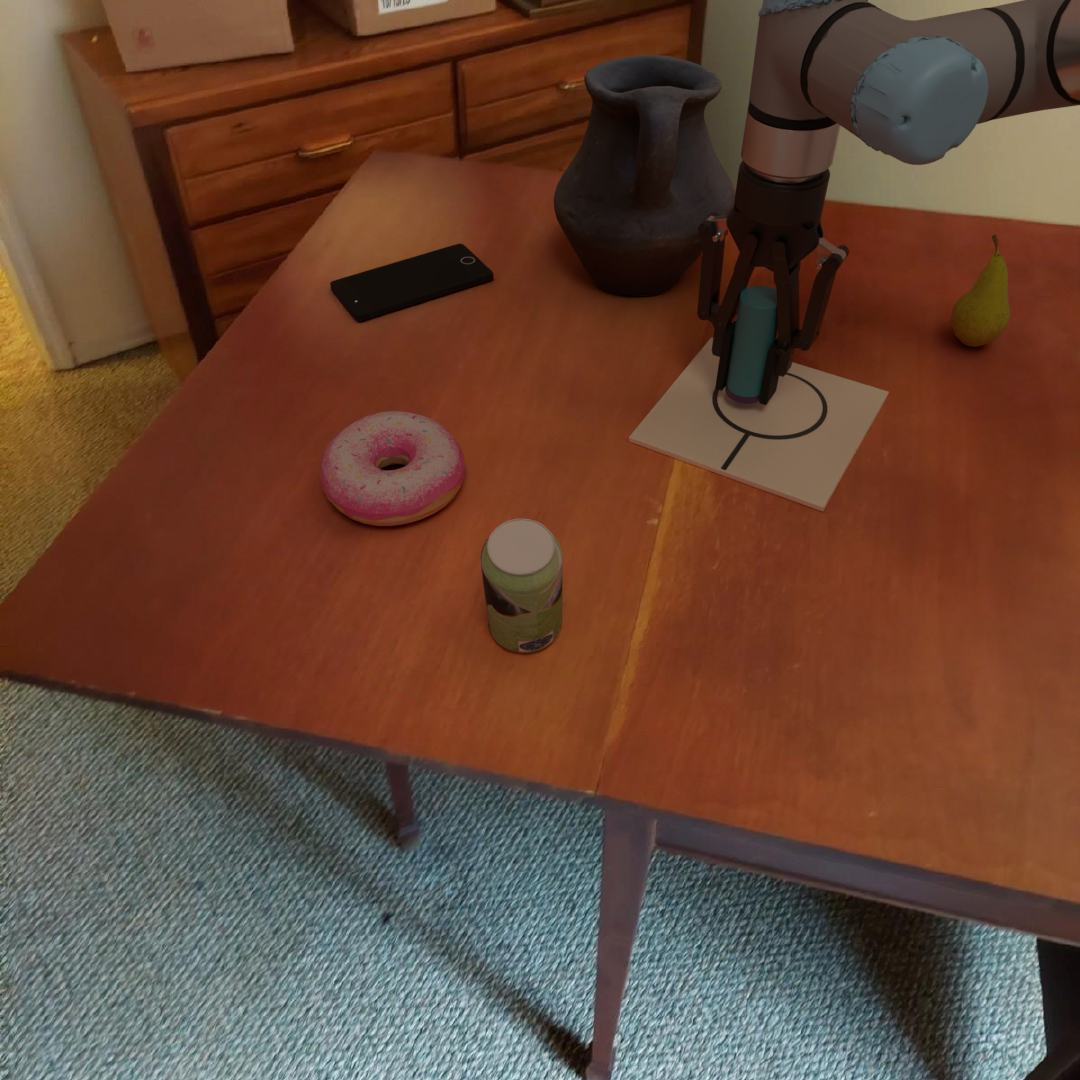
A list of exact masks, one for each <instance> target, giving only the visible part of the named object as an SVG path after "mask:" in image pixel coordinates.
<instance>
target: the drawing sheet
mask: <svg viewBox="0 0 1080 1080" xmlns="http://www.w3.org/2000/svg"><path fill="white" fill-rule="evenodd" d="M712 344H713V336H711V337H710V338H709V339H708V340H707V342H706V343H705V344H704V346H703V347H702V348H701V349H700V350H699V351H698V353H696V355H695V356H694V357H693V359H692V360H691V361H690V362H689V364H687V366H686V367H685V368H684V370H683V371H682V372H681V373H680V375H678V377H677V378H676V379H675V380H674V382H673V383H672V384H671V385H670V387H668V389H666V391H665V393H664V394H663V395H662V396H661V397H660V398H659V400H658V401H657V402H656V404H654V406H653V407H652V408H651V409H650V411H649V412H648V413H647V415H645V417H644V418H643V419H642V420H641V422H640V423H639V424H638V425H637V426H636V428H635V429H634V430H633V431H632V432H631V433H630V435H629V436H628V442H629V443H632V444H634V445H637V446H640V447H643V448H646V449H647V450H651V451H653V452H656V453H659V454H661V455H665V456H667V457H669V458H670V457H671V458H673V459H676V460H679V461H681V462H684V463H686V464H690V465H692V466H695V467H698V468H701V469H703V470H706V471H708V472H711V473H714V474H717V475H719V476H722V477H726V478H727V479H731V480H733V481H736V482H739V483H742V484H745V485H747V486H750V487H752V488H755V489H757V490H761V491H764V492H765V493H766V492H767V493H769V494H772V495H775V496H778V497H781V498H782V499H786V500H789V501H791V502H793V503H797V504H800V505H803V506H805V507H807V508H810V509H813V510H815V511H819V512H821V513H823V512H824V510H825V509H826V507H827V505H828V503H829V502H830V500H831V498H832V497H833V495H834V493H835V491H836V489H837V488H838V486H839V484H840V482H841V480H842V479H843V477H844V475H845V473H846V471H847V470H848V469H849V466H850V464H851V463H852V461H853V459H854V458H855V456H856V454H857V452H858V450H859V449H860V447H861V445H862V443H863V442H864V439H865V438H866V436H867V434H868V433H869V431H870V429H871V427H872V425H873V423H874V422H875V420H876V418H877V417H878V414H879V413H880V412H881V410H882V408H883V406H884V404H885V402H886V401H887V399H888V397H889V394H890V391H888V390H885V389H881V388H878V387H875V386H872V385H868V384H865V383H861V382H859V381H855V380H852V379H848V378H845V377H842V376H838V375H835V374H832V373H829V372H826V371H823V370H819V369H816V368H813V367H809V366H807V365H803V364H801V363H800V364H799V363H797V362H793V361H792V366H791V367H790V369H789V370H788V372H787V373H786V374H785V376H784V377H782V376H779V379H778V384H777V389H776V392H775V393H774V395H773V396H772V398H771V399H770V400H769V402H768V403H767V405H763V404H760V403H759V402H756V403H752V404H743V403H739V402H736V401H734V400H732V399H730V398H729V397H728V396H727V394H726V392H725V388H726V386H725V388H724V389H723V390H722V391H721V390H718V389H715V386H716V379H717V372H718V366H719V359H720V357H718V356H715V355H713V354H712Z"/></svg>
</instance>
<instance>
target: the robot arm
mask: <svg viewBox="0 0 1080 1080" xmlns="http://www.w3.org/2000/svg"><path fill="white" fill-rule="evenodd" d="M758 17H759V18H758V20H759V21H758V26H757V33H756V34H757V35H756V40H755V49H754V58H753V65H752V71H751V72H752V73H751V80H750V89H749V95H748V96H749V97H748V100H749V101H748V106H747V111H746V117H745V123H744V124H745V125H744V129H743V130H744V131H743V137H742V144H741V151H740V157H741V160H742V161H741V162H740V164H739V165H738V173H737V180H736V186H735V200H734V207H733V209H732V211H731V212H730V213H729V214H728V215H722V216H720V215H719V214H718V213H716V212H713V213H711V214H710V215H709V216H708V217H707V218H706V219H705V220H704V221H703V222H702V223H701V224H700V225H699V226H698V232H699V236H700V240H701V244H702V248H703V249H702V253H701V262H700V263H701V264H700V274H699V275H700V276H699V288H698V296H697V310H696V315H697V317H698V319H699V320H701V321H708V322H709V323H711V325H712V326H713V329H714V330H713V336H712V338H713V344H712V354H713V355H715V356H718V357H720V359H719V366H718V372H717V379H716V386H715V389H718V390H721V391H722V390H723V389H724V388H725V386H726V381H727V375H728V368H729V362H730V356H731V349H732V343H733V337H734V330H735V324H736V320H734V319H735V318H736V317H737V311H738V305H739V299H740V294H741V292H742V291H743V290H744V289H745V288H747V287H748V285H749V282H750V280H751V278H752V275H753V273H754V271H755V268H765V269H767V270H769V271H771V272H773V283H774V285H775V287H776V288H775V289H776V291H777V324H778V331H777V336H776V340H775V342H774V343H773V344H772V345H771V347H770V348H769V353H768V358H767V363H766V368H765V374H764V379H763V384H762V389H761V395H760V400H759V403H760V404H763V405H767V403H768V402H769V400H770V399H771V398H772V396H773V395H774V393H775V392H776V389H777V384H778V379H779V376H782V377H784V376H785V374H786V373H787V372H788V370H789V369H790V367H791V366H792V362H793V361H794V358H795V357H794V356H795V352H796V349H799V350H801V351H803V352H807V351H809V350H810V348H811V347H812V346H813V344H814V343H815V342H816V340H817V338H818V337H819V336H820V332H821V330H822V325H823V322H824V318H825V314H826V311H827V308H828V303H829V300H830V298H831V293H832V290H833V286H834V283H835V279H836V276H837V271H838V270H839V269H840V267H841V266H842V264H843V263H844V262H845V260H846V259H847V258H848V256H849V254H850V250H849V248H848V246H846V245H845V244H839V245H837V246H835V245H834V244H833V243H831V242H830V241H828V240H827V239H826V238H824V230H823V227H822V215H823V210H824V207H825V206H824V205H825V202H826V196H827V191H828V187H829V183H830V178H831V171H830V167H832V165H833V162H834V158H835V153H836V148H837V145H838V144H837V143H838V139H839V134H840V131H841V127H842V128H843V129H844V130H847V131H848V132H849V133H851V134H852V135H853V136H855V137H856V138H858V139H859V140H861V142H862V143H864V144H865V145H866V146H867V147H868V148H871V149H872V150H874V151H875V152H881V153H882V154H883V155H886V156H890V157H892V158H894V159H896V160H898V161H900V162H902V163H904V164H907V165H910V166H911V165H912V166H924V165H929V164H932V163H935V162H937V161H940V160H942V159H943V158H944V157H945V155H946V154H947V153H948V152H949V151H951V150H953V149H955V148H956V149H957V148H958V147H959V146H961V145H962V144H963V143H964V142H965V140H966V139H967V138H968V137H969V136H970V134H971V133H972V132H973V131H974V129H975V128H976V126H977V125H980V124H984V123H987V122H990V121H994V120H998V119H999V120H1000V119H1004V118H1010V117H1015V116H1020V115H1025V114H1030V113H1035V112H1040V111H1041V112H1042V111H1048V110H1055V109H1061V108H1070V107H1077V106H1080V0H1019V1H1014V2H1009V3H1005V4H999V5H995V6H991V7H982V8H975V9H971V10H965V11H960V12H959V11H958V12H955V13H950V14H943V15H939V16H932V17H926V18H921V19H916V20H915V19H914V20H910V19H904V18H902V17H899V16H897V15H894V14H892V13H890V12H888V11H886V10H883V9H882V8H879V7H878V6H877V5H875V4H873V3H871V2H869V0H762V3H761V8H760V9H759V11H758ZM729 234H730V235H731V238H732V240H733V241H734V243H735V246H736V247H737V250H738V252H739V254H738V256H737V258H736V261H735V263H734V267H733V273H732V275H731V277H730V280H729V283H728V286H727V288H726V291H725V294H724V295H723V298H722V301H721V304H720V295H721V285H722V275H723V267H724V266H723V265H724V256H725V247H726V238H727V236H728V235H729ZM812 252H814V253H815V256H816V259H815V262H814V263H815V268H816V270H818V272H817V274H815V275H816V276H815V278H814V281H813V283H812V287H811V291H810V295H809V299H808V303H807V306H806V309H805V313H804V318H803V321H802V326H801V329H800V325H801V324H800V270H801V268H802V267H801V266H802V265H801V263H802V260H804V259H805V258H806V257H807V256H808V255H810V254H811V253H812Z"/></svg>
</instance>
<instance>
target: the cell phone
mask: <svg viewBox="0 0 1080 1080" xmlns="http://www.w3.org/2000/svg"><path fill="white" fill-rule="evenodd" d="M494 279H495V278H494V272H493V271H492V269H490V268H489V267H488V266H487V265H486V264H485V263H484V262H483V261H482V260H481V259H480V258H479V257H478V256H476V254H475V253H474V252H473V251H471V249H469V248H468V247H467V246H466V245H465V244H463V243H456V244H452V245H449V246H445V247H441V248H439V249H435V250H432V251H428V252H425V253H422V254H419V255H415V256H412V257H409V258H408V257H407V258H405V259H401V260H398V261H394V262H390V263H387V264H385V265H381V266H377V267H373V268H370V269H367V270H365V271H364V270H363V271H361V272H359V273H358V272H357V273H354V274H350V275H347V276H345V277H340V278H338V279H335V280H332V281H330V282H329V285H330V286H329V287H330V290H331V292H332V293H333V294H334V295H335V297H336V298H337V299H338V300H339V301H340V303H341V304H342V306H343V307H344V308H345V309H346V310H347V311H348V312H349V314H350V315H351V316H352V317H353V319H354V320H355V321H357V322H359V323H360V322H363V321H367V320H369V319H372V318H376V317H379V316H381V315H386V314H388V313H391V312H395V311H399V310H400V309H405V308H407V307H411V306H413V305H417V304H420V303H423V302H427V301H429V300H433V299H436V298H439V297H442V296H445V295H448V294H451V293H454V292H457V291H461V290H464V289H467V288H471V287H474V286H477V285H480V284H483V283H487V282H490V281H493V280H494Z"/></svg>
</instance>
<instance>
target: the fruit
mask: <svg viewBox="0 0 1080 1080" xmlns="http://www.w3.org/2000/svg"><path fill="white" fill-rule="evenodd" d="M991 240H992V242H993V244H994V247H995V248H994V249H995V250H994V253H993V255H991V257H990V258H989V260H988V263H987V265H986V266H985V268H983V270H982V271H981V272H980V273H979V276H978V277H977V280H976V281H975V282H974V284H973V286H972V288H970V289H969V290H968V291H967V292H966V293H965V294H964V295H962V296H961V297H960V298H959V299H958V300H957V301H956V302H955V304H954V305H953V308H952V310H951V314H950V323H951V328H952V331H953V334H954V335H955V336H956V338H957V340H959V341H960V342H961V343H962V344H963V345H964V346H967V347H970V348H977V347H982V346H985V345H987V344H990V343H991V342H993V341H995V340H996V339H998V338H999V337H1000V336H1002V334H1003V333H1004V332H1005V330H1006V329H1007V328H1008V325H1009V323H1010V318H1011V309H1010V304H1009V297H1008V291H1009V274H1008V267H1007V264H1006V261H1005V259H1004V257H1003V256H1002V255H1001V254H1000V252H999V240H998V235H997V234H993V235H992V236H991Z"/></svg>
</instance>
